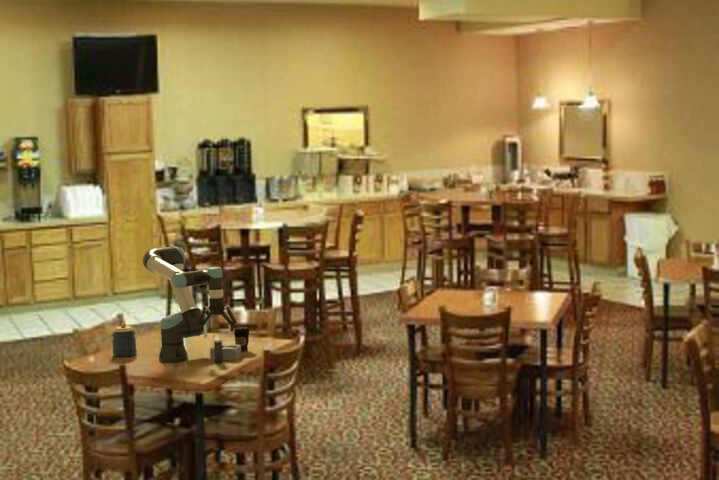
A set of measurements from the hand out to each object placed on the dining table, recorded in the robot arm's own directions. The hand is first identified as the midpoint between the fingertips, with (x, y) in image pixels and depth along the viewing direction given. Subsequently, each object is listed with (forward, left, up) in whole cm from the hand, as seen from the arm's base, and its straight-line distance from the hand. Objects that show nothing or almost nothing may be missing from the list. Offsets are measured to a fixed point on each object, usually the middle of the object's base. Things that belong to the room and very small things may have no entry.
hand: (218, 337), depth 525 cm
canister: (-58, +15, -14) cm, 62 cm away
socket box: (0, +11, -14) cm, 18 cm away
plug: (0, 0, -14) cm, 14 cm away
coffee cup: (+5, +27, -14) cm, 31 cm away
